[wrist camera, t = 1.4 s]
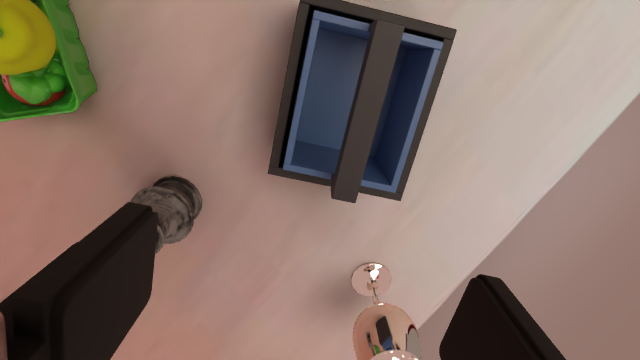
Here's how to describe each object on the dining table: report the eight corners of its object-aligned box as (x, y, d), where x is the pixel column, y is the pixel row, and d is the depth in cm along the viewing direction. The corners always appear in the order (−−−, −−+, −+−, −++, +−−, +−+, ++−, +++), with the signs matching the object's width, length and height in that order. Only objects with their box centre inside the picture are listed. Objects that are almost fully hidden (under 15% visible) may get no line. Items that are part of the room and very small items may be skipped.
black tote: (304, 3, 30) (301, -10, 23) (426, 34, 30) (457, 29, 24) (277, 149, 34) (267, 173, 27) (384, 172, 35) (400, 201, 28)
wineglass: (338, 266, 39) (347, 355, 27) (389, 251, 38) (420, 335, 27) (354, 306, 40) (368, 405, 29) (402, 292, 40) (436, 388, 29)
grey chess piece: (203, 174, 35) (148, 234, 23) (206, 227, 37) (158, 305, 25) (142, 172, 35) (58, 230, 23) (149, 225, 37) (75, 302, 25)
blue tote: (314, 20, 29) (313, 2, 19) (412, 44, 30) (466, 40, 19) (290, 142, 33) (277, 187, 22) (377, 161, 34) (407, 214, 23)
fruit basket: (-20, -27, 29) (-219, -73, 18) (85, -42, 28) (-53, -99, 18) (36, 113, 32) (-100, 142, 22) (129, 100, 32) (38, 125, 22)
